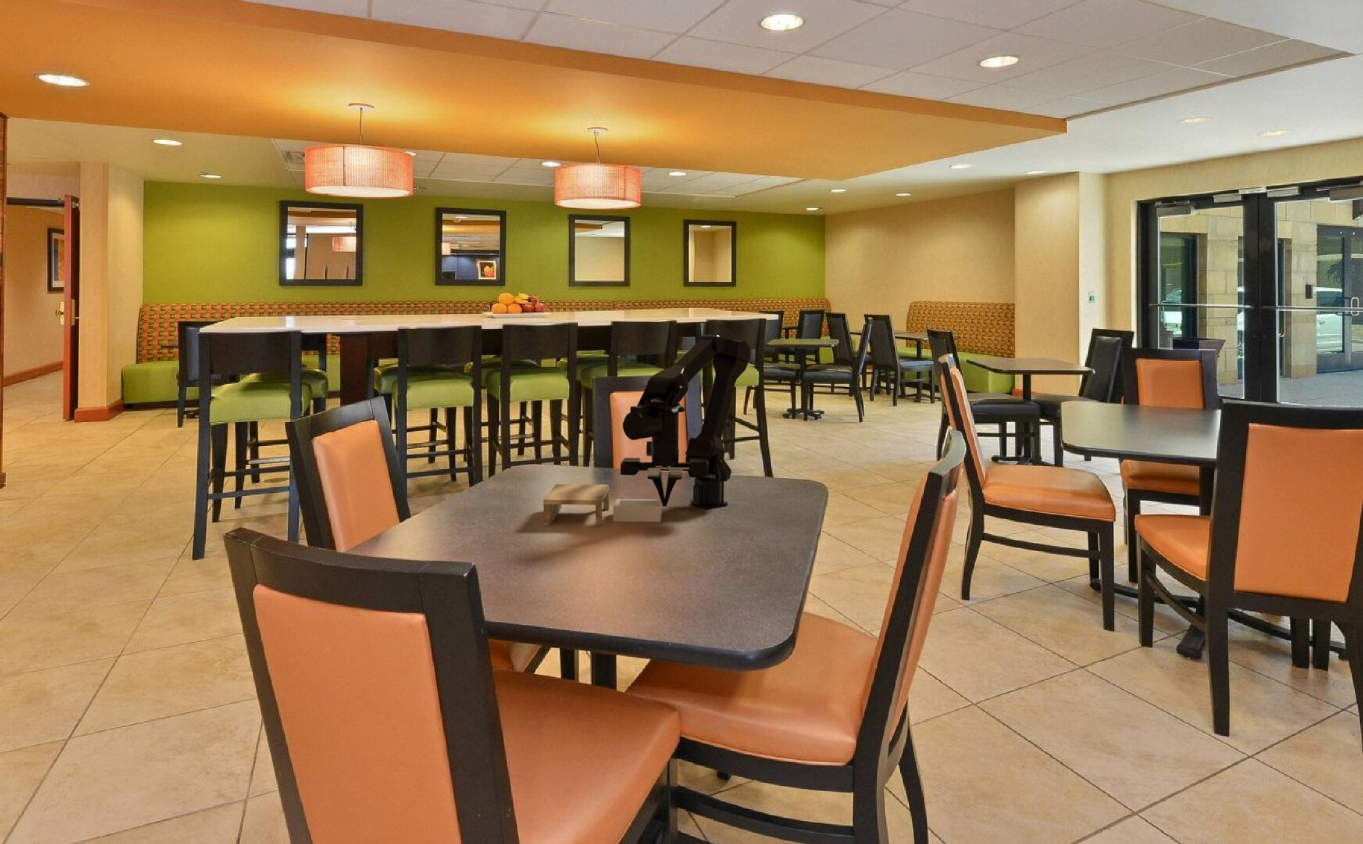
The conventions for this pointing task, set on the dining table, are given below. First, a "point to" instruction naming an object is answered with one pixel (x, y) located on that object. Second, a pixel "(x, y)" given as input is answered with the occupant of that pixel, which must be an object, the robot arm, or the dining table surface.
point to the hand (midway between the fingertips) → (664, 506)
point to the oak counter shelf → (575, 499)
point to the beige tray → (637, 510)
